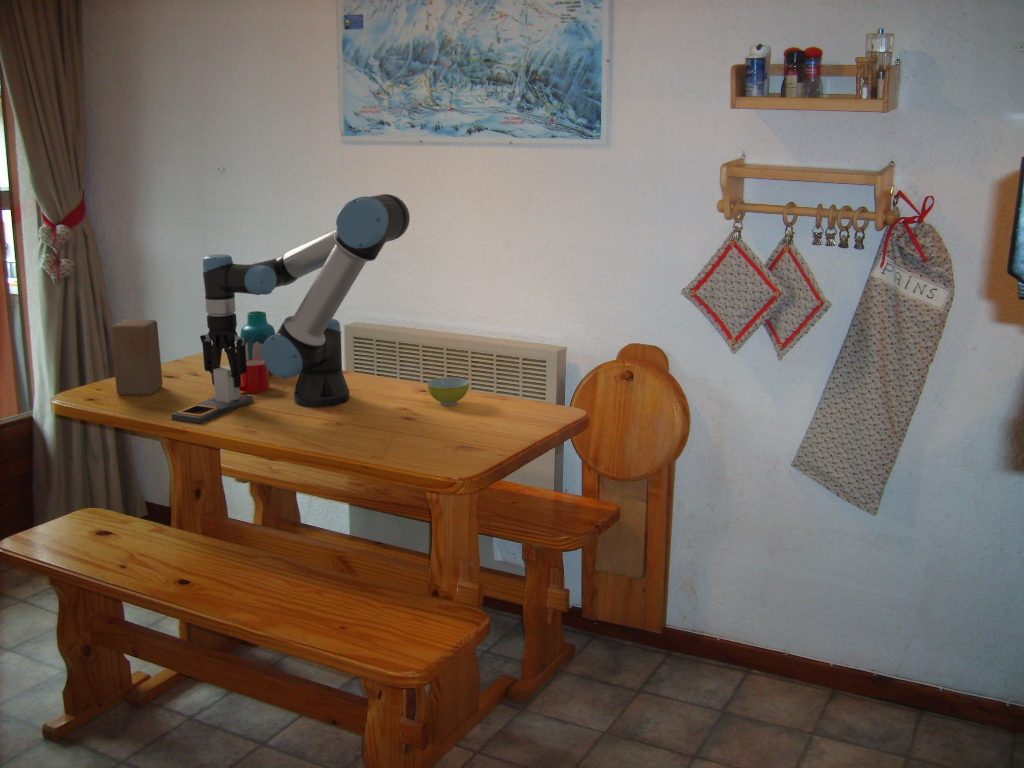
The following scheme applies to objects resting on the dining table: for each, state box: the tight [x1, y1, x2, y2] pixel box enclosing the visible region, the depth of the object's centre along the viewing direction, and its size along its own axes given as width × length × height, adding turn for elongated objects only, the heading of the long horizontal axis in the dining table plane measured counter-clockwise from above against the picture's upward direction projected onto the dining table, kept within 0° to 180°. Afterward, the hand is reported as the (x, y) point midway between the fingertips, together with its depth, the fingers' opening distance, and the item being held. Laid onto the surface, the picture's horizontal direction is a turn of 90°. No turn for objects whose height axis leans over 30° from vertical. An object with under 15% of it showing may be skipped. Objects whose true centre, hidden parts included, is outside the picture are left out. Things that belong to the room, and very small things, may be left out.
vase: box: [239, 310, 276, 374], centre depth 293 cm, size 11×11×19 cm
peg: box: [213, 365, 240, 403], centre depth 264 cm, size 5×5×10 cm
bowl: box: [426, 377, 470, 407], centre depth 266 cm, size 11×12×6 cm
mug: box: [239, 359, 270, 393], centre depth 278 cm, size 8×12×8 cm, turn 150°
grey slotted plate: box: [171, 394, 254, 424], centre depth 259 cm, size 9×22×2 cm, turn 158°
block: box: [109, 318, 163, 396], centre depth 274 cm, size 10×10×20 cm
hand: (227, 397), depth 264 cm, fingers closed on peg, 5 cm apart
